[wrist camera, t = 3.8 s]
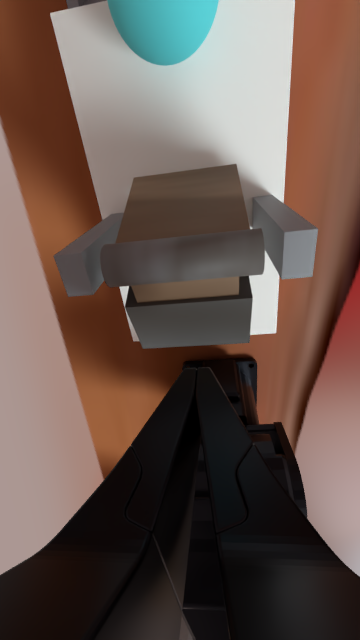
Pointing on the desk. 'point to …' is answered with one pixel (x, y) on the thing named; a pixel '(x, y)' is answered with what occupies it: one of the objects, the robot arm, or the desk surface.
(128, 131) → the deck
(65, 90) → the desk surface
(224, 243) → the lever
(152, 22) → the ball
